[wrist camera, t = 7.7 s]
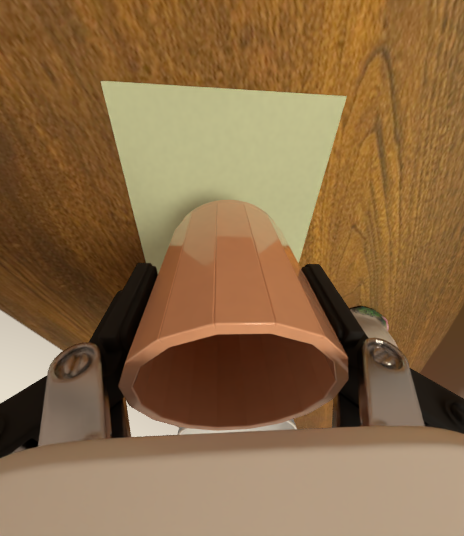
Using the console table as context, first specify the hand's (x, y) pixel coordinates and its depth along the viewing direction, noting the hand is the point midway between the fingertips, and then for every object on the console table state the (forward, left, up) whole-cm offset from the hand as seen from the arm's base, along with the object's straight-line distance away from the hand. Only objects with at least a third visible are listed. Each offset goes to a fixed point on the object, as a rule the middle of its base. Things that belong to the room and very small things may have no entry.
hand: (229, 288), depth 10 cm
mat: (0, 0, -8) cm, 8 cm away
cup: (0, 0, -3) cm, 3 cm away
